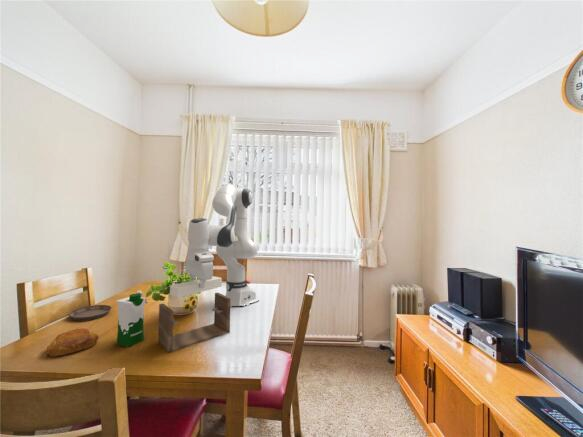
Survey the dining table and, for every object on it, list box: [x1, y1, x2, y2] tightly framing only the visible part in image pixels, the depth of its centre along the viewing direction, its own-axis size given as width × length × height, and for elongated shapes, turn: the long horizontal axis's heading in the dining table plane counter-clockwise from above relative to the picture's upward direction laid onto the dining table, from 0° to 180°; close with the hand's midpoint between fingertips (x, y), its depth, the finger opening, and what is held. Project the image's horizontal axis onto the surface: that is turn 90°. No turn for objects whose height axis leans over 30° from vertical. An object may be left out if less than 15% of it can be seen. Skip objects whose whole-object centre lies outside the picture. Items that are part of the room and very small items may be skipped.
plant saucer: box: [68, 304, 112, 322], centre depth 134 cm, size 18×18×3 cm
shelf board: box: [169, 275, 223, 299], centre depth 113 cm, size 22×6×4 cm, turn 145°
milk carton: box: [116, 293, 147, 348], centre depth 107 cm, size 9×9×20 cm
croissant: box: [46, 327, 100, 357], centre depth 102 cm, size 14×16×8 cm
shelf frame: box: [157, 292, 231, 354], centre depth 112 cm, size 27×12×16 cm, turn 135°
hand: (197, 286), depth 113 cm, fingers closed on shelf board, 6 cm apart
